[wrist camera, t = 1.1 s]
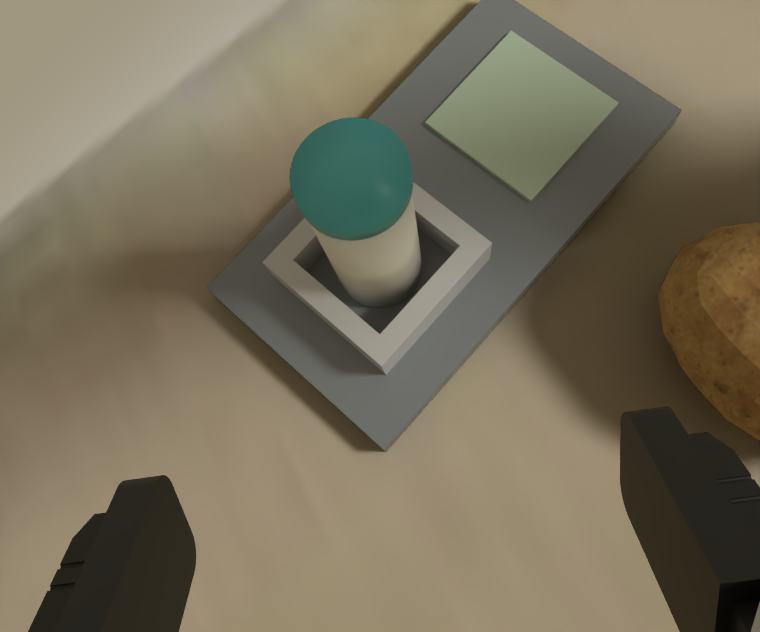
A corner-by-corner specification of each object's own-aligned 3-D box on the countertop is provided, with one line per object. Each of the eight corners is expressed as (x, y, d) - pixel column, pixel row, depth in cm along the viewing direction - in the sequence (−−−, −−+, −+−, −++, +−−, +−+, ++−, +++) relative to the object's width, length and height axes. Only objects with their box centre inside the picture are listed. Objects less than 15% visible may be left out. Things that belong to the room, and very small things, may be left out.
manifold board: (492, 3, 45) (496, -44, 42) (673, 123, 42) (696, 85, 38) (214, 295, 42) (190, 274, 38) (386, 451, 39) (378, 446, 35)
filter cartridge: (377, 210, 41) (346, 95, 29) (442, 262, 40) (436, 164, 28) (319, 272, 40) (264, 180, 29) (383, 327, 39) (353, 254, 27)
